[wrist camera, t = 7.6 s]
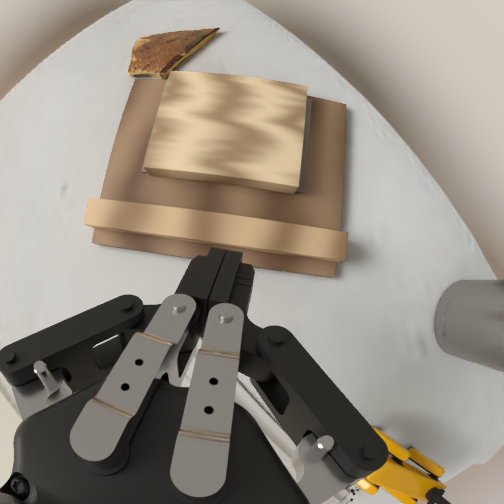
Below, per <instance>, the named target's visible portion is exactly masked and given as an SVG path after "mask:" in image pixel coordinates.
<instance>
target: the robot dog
mask: <svg viewBox="0 0 504 504" xmlns="http://www.w3.org/2000/svg"><path fill="white" fill-rule="evenodd" d="M372 428H373V429H374V430H375V431H376V432H377V433H378V434H379V436H380V437H381V438H382V439H383V440H384V441H385V443H386V444H387V446H388V450H389V454H390V455H392V456H393V457H392V456H390V455H389V456H388V459H387V461H386V463H385V464H384V466H382V467H381V468H380V469H378V470H377V471H375V472H373V473H372V474H370V475H369V476H367V477H365V478H364V479H362V480H360V481H359V482H357V483H355V484H357V485H358V486H359V487H361V488H362V489H363V490H364V491H366V492H367V493H369V494H371V495H374V494H375V493H376V492H377V491H378V490H379V487H380V486H381V487H382V488H383V489H384V490H386V491H387V492H388V493H390V494H391V495H393V496H394V497H395V498H397V499H398V500H399V501H401V502H402V503H404V504H416V502H417V500H421V501H425V502H427V504H434V503H436V504H450V503H449V502H448V501H447V500H446V499H444V498H443V497H442V495H443V494H444V492H445V491H444V489H445V488H446V486H445V485H444V484H443V483H442V482H441V481H440V480H439V479H437V478H439V477H441V476H442V475H443V474H444V472H445V471H444V469H443V468H442V467H441V466H439V465H438V464H436V463H435V462H433V461H432V460H430V459H429V458H428V457H426V456H425V455H423V454H422V453H420V452H419V451H417V450H416V449H414V448H413V447H410V448H409V449H408V451H407V450H406V449H405V448H404V447H402V446H401V445H399V444H398V443H397V442H395V441H394V440H393V439H391V438H390V437H388V436H387V435H386V434H384V433H383V432H382V431H381V430H380V429H378V428H377V427H374V426H372ZM407 459H410V460H411V461H413V462H414V463H416V464H417V465H418V466H420V467H421V468H423V469H424V470H426V471H427V472H429V473H430V474H429V473H427V472H424V471H422V470H420V469H418V468H415V467H413V466H411V465H409V464H407V463H405V462H404V461H406V460H407Z"/></svg>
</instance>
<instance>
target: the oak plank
mask: <svg viewBox="0 0 504 504" xmlns="http://www.w3.org/2000/svg"><path fill="white" fill-rule="evenodd" d="M306 101H307V86H302V85H297V84H292V83H286V82H280V81H274V80H268V79H261V78H254V77H246V76H238V75H228V74H218V73H205V72H189V71H170V74H169V77H168V80H167V83H166V86H165V89H164V93H163V96H162V99H161V102H160V106H159V109H158V112H157V116H156V119H155V123H154V126H153V130H152V134H151V137H150V141H149V145H148V149H147V153H146V157H145V161H144V165H143V168H144V169H145V170H146V171H147V173H148V174H149V175H150V176H160V177H170V178H180V179H189V180H197V181H206V182H214V183H222V184H229V185H237V186H244V187H251V188H258V189H264V190H271V191H277V192H284V193H290V194H294V193H295V191H296V190H297V188H298V187H299V178H300V169H301V158H302V148H303V137H304V125H305V113H306Z"/></svg>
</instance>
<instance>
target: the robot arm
mask: <svg viewBox="0 0 504 504" xmlns="http://www.w3.org/2000/svg"><path fill="white" fill-rule="evenodd" d="M242 258H243V252H239V251H234V250H227V249H222V248H217V247H211V248H210V250H209V253H208V255H207V256H202V255H198V256H197V257H195V258H194V259H193V260H191V262H190V264H189V266H188V269H187V270H186V272H185V275H184V276H183V278H182V280H181V282H180V284H179V286H178V288H177V290H176V292H175V294H174V295H171V296H169V297H167V298H166V299H165V300H164V301H163V303H162V304H158V305H143V302H142V300H141V299H140V298H139V297H137V296H134V295H122V296H119V297H117V298H115V299H112V300H110V301H108V302H105V303H103V304H101V305H98V306H96V307H94V308H91V309H89V310H87V311H85V312H82V313H80V314H78V315H75V316H73V317H71V318H69V319H66V320H64V321H62V322H59V323H57V324H55V325H53V326H50V327H48V328H46V329H43V330H41V331H39V332H37V333H34V334H32V335H30V336H28V337H25V338H23V339H21V340H19V341H16V342H14V343H12V344H10V345H7V346H5V347H4V348H3V349H1V351H0V371H1V373H2V374H3V375H4V377H5V378H6V380H7V382H8V383H9V384H10V386H11V387H12V390H13V393H14V396H15V399H16V402H17V405H18V408H19V411H20V414H21V416H22V419H23V422H21V424H20V425H19V427H18V428H17V430H16V433H15V436H14V464H13V470H12V474H11V476H10V478H9V480H8V481H7V482H6V483H5V485H4V486H3V487H1V488H0V504H322V503H323V502H325V501H326V500H328V499H329V498H331V497H332V496H334V495H335V494H337V493H338V492H340V491H341V490H344V489H346V488H348V487H350V486H352V485H354V484H355V483H357V482H359V481H360V480H362V479H364V478H365V477H367V476H369V475H370V474H372V473H373V472H375V471H377V470H378V469H380V468H381V467H382V466H384V464H385V463H386V461H387V459H388V456H389V450H388V446H387V444H386V443H385V441H384V440H383V439H382V438H381V437H380V436H379V434H378V433H377V432H376V431H375V430H374V429H373V428H372V426H371V425H370V424H369V423H368V422H367V421H366V420H365V418H364V417H363V416H362V415H361V414H360V413H359V412H358V410H357V409H356V408H355V407H354V406H353V405H352V404H351V402H350V401H349V400H348V399H347V398H346V397H345V395H344V394H343V393H342V392H341V391H340V390H339V388H338V387H337V386H336V385H335V384H334V383H333V381H332V380H331V379H330V378H329V377H328V376H327V374H326V373H325V372H324V371H323V370H322V369H321V367H320V366H319V365H318V364H317V363H316V362H315V360H314V359H313V358H312V357H311V356H310V354H309V353H308V352H307V351H306V350H305V349H304V347H303V346H302V345H301V344H300V343H299V341H298V340H297V339H296V338H295V337H294V335H293V334H292V333H291V332H290V331H289V330H287V329H286V328H284V327H281V326H268V327H265V328H264V329H263V328H260V327H258V326H256V325H255V324H253V323H252V322H251V321H250V320H249V319H248V317H247V312H248V307H249V303H250V298H251V293H252V286H253V280H254V274H255V271H254V269H253V266H252V265H251V264H246V263H242ZM434 327H435V335H436V339H437V342H438V344H439V346H440V347H441V348H442V350H443V351H445V352H446V353H448V354H450V355H453V356H456V357H459V358H462V359H465V360H468V361H471V362H474V363H477V364H480V365H483V366H486V367H489V368H492V369H495V370H499V371H502V372H504V280H461V281H457V282H455V283H453V284H452V285H451V286H450V287H448V289H447V290H446V291H445V292H444V294H443V295H442V297H441V299H440V301H439V304H438V306H437V310H436V314H435V323H434ZM117 334H118V336H117V337H115V338H113V339H111V340H109V341H107V342H105V343H102V344H100V345H98V346H96V347H94V346H95V345H96V344H98V343H100V342H102V341H105V340H107V339H109V338H111V337H113V336H115V335H117ZM200 337H203V340H202V345H201V349H199V350H198V352H197V356H196V360H195V364H194V369H193V373H192V378H191V382H190V386H189V387H181V385H182V382H183V379H184V377H185V375H186V373H187V370H188V368H189V366H190V364H191V361H192V359H193V357H194V355H195V352H196V349H197V343H198V340H199V338H200ZM93 347H94V348H93ZM238 372H240V373H242V374H244V375H246V376H248V377H250V381H251V383H252V385H253V386H254V388H255V389H256V390H257V392H258V393H259V395H260V396H261V398H262V399H263V401H264V402H265V404H266V405H267V406H268V408H269V409H270V411H271V412H272V414H273V415H274V416H275V418H276V419H277V421H278V422H279V423H280V425H281V426H282V428H283V429H284V430H285V432H286V433H287V434H288V436H289V437H290V439H291V440H292V441H293V443H294V444H295V445H296V449H295V450H294V451H293V453H292V456H291V462H292V465H293V467H294V469H295V472H296V481H295V480H294V478H293V477H292V475H291V474H290V473H289V471H288V470H287V468H286V467H285V465H284V464H283V462H282V461H281V459H280V458H279V456H278V454H277V453H276V451H275V450H274V448H273V447H272V445H271V444H270V442H269V441H268V439H267V437H266V436H265V434H264V433H263V431H262V429H261V428H260V426H259V425H258V423H257V421H256V420H255V419H254V417H253V416H252V415H251V414H250V413H249V412H248V411H247V410H246V409H245V408H244V407H242V406H241V405H239V404H237V403H236V402H234V400H235V392H236V383H237V375H238ZM75 392H76V393H75ZM73 393H74V394H73ZM71 394H72V395H71Z"/></svg>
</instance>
